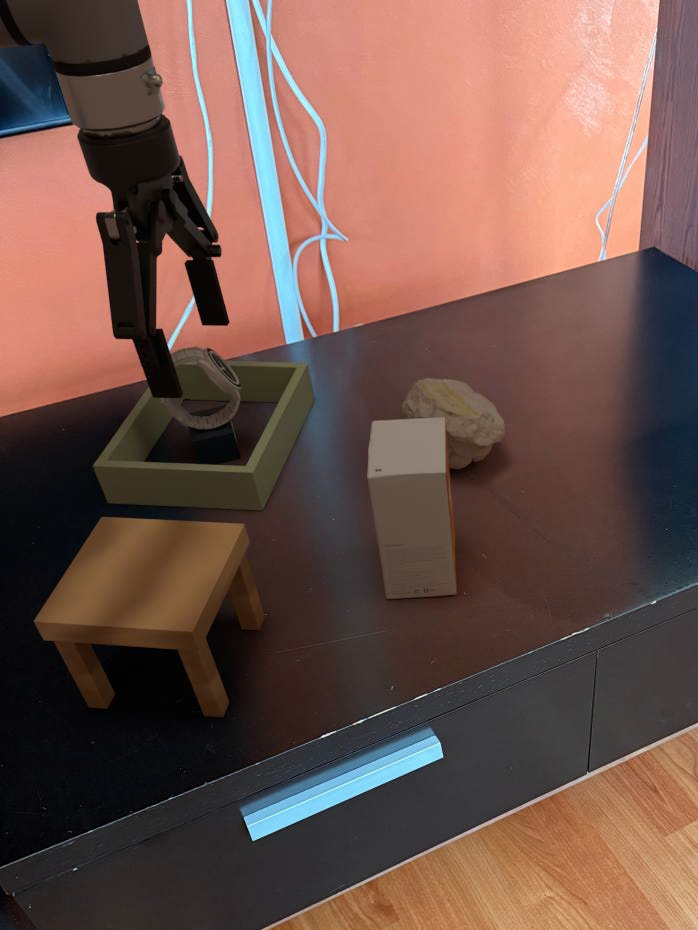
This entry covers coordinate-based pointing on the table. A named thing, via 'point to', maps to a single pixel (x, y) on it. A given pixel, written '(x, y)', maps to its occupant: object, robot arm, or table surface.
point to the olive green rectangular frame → (203, 483)
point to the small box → (412, 506)
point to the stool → (151, 599)
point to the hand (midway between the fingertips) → (193, 358)
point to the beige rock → (457, 417)
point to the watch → (210, 425)
